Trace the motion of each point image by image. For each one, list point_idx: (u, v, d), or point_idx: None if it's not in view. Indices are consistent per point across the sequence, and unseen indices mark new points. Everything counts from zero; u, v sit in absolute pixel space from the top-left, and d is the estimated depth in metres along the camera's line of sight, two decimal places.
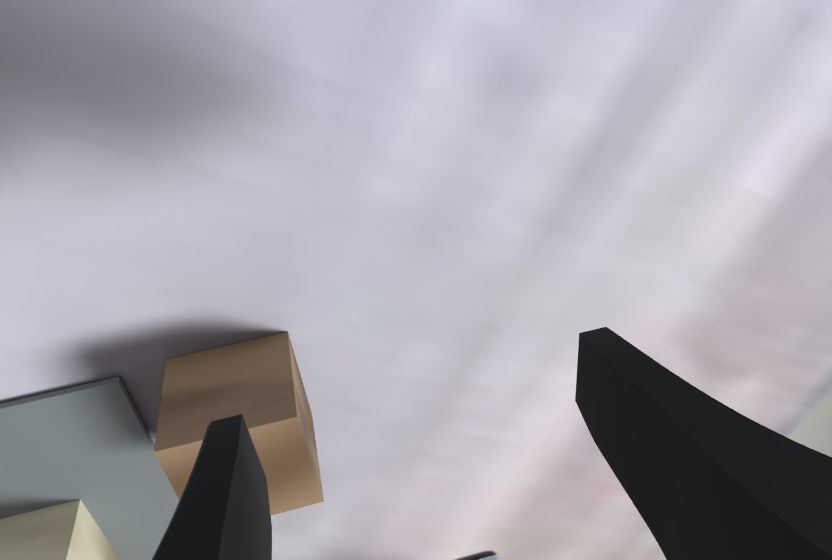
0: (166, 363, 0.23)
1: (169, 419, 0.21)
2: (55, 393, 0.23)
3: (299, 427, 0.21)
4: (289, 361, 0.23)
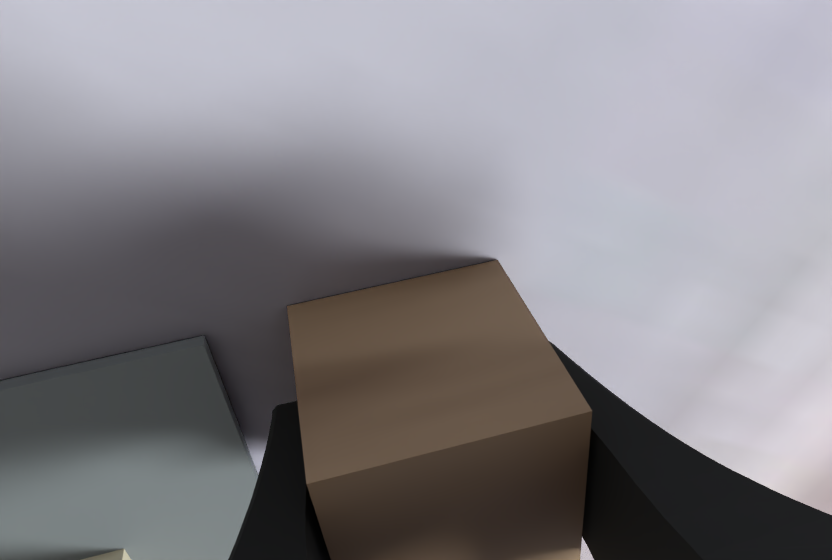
0: (290, 314, 0.13)
1: (322, 415, 0.10)
2: (90, 365, 0.13)
3: (588, 433, 0.10)
4: (526, 309, 0.12)
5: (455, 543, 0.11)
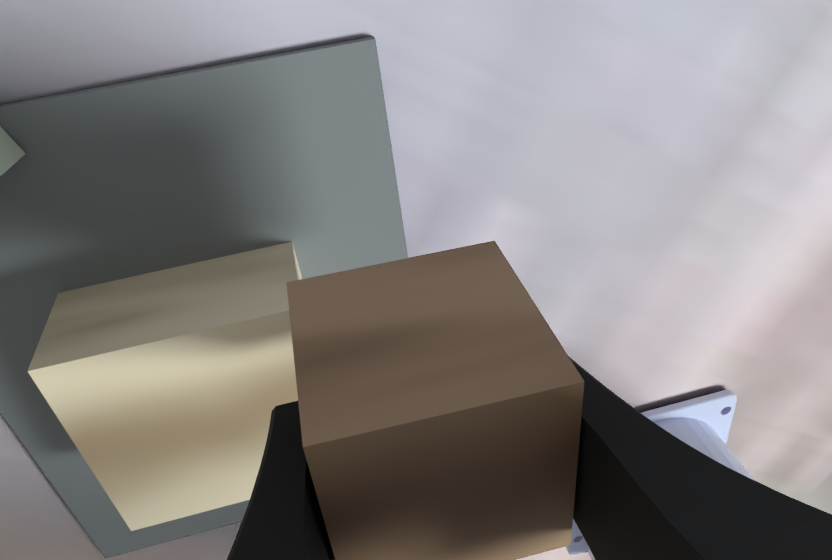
0: (289, 290, 0.13)
1: (319, 384, 0.11)
2: (292, 52, 0.17)
3: (580, 404, 0.10)
4: (521, 287, 0.12)
5: (448, 513, 0.11)
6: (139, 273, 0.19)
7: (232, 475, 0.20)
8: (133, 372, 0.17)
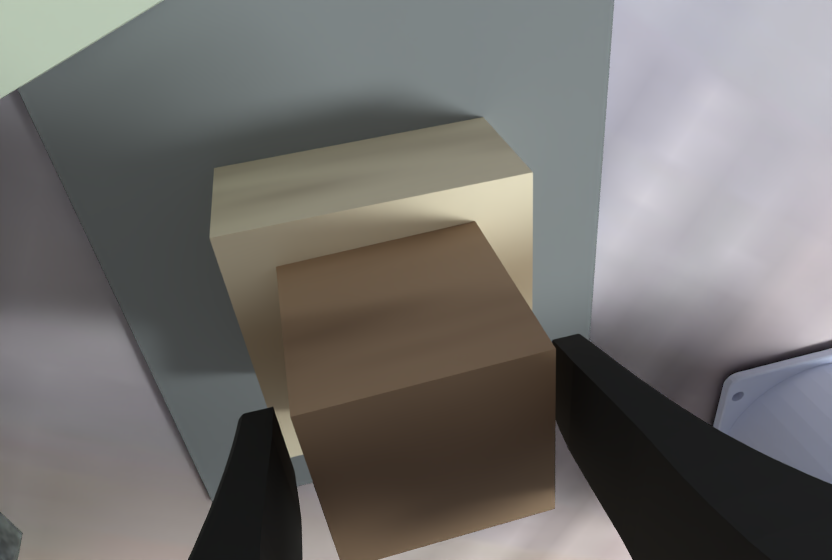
0: (278, 274, 0.14)
1: (306, 359, 0.11)
2: None
3: (553, 370, 0.11)
4: (499, 263, 0.13)
5: (434, 479, 0.12)
6: (308, 148, 0.16)
7: None
8: (328, 248, 0.14)
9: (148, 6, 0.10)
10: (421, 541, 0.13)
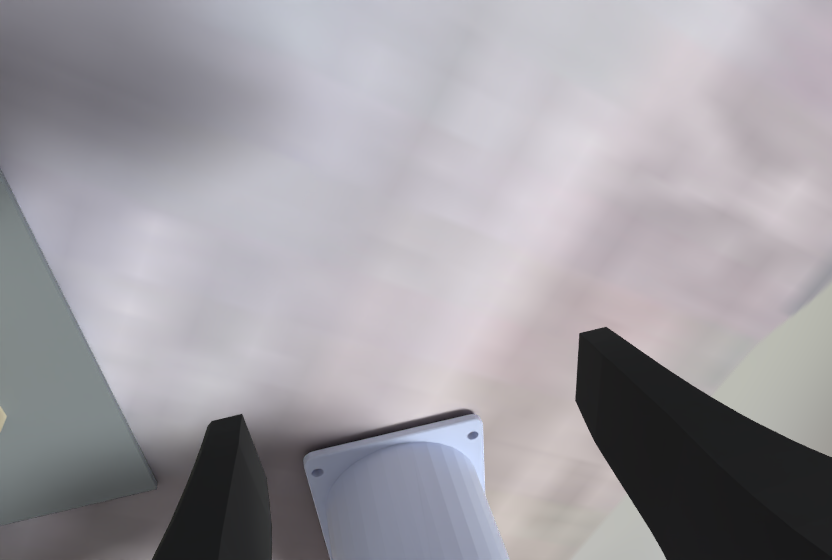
0: None
1: None
2: None
3: None
4: None
5: None
6: None
7: None
8: None
9: None
10: None
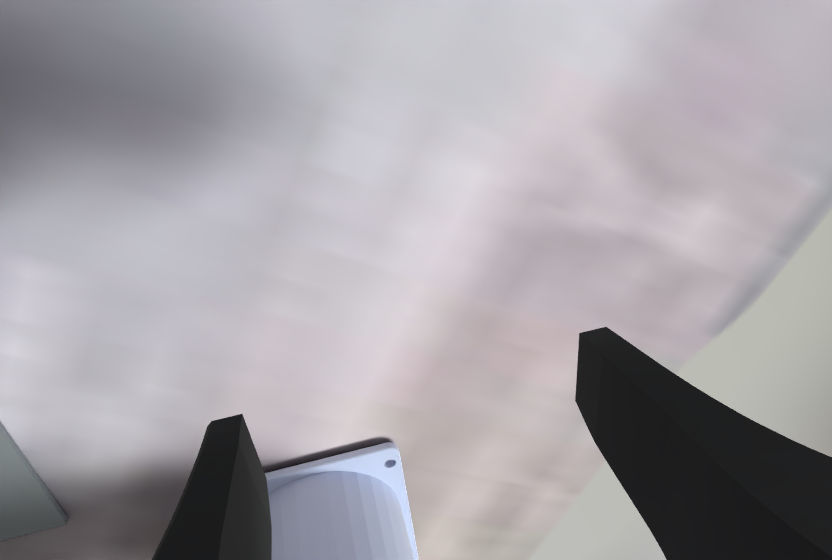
0: None
1: None
2: None
3: None
4: None
5: None
6: None
7: None
8: None
9: None
10: None
